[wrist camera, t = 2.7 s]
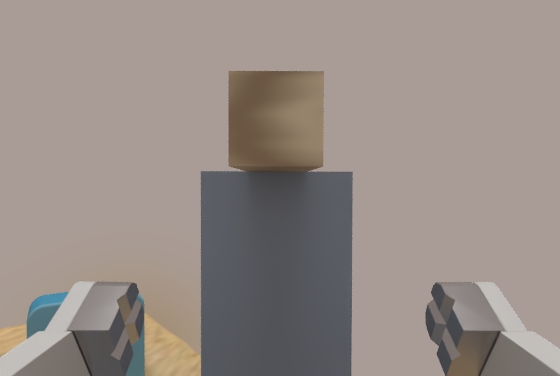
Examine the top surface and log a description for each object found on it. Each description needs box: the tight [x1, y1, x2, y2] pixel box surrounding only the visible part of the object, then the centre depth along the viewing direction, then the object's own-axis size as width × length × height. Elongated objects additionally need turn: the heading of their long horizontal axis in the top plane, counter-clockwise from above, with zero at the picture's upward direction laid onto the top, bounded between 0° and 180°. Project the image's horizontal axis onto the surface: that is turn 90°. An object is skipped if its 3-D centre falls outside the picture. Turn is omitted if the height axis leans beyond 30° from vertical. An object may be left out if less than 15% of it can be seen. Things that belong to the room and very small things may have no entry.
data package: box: [27, 292, 144, 376], centre depth 45 cm, size 12×4×12 cm, turn 121°
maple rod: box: [229, 71, 324, 172], centre depth 24 cm, size 4×20×4 cm, turn 0°
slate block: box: [201, 171, 353, 376], centre depth 29 cm, size 9×12×26 cm
